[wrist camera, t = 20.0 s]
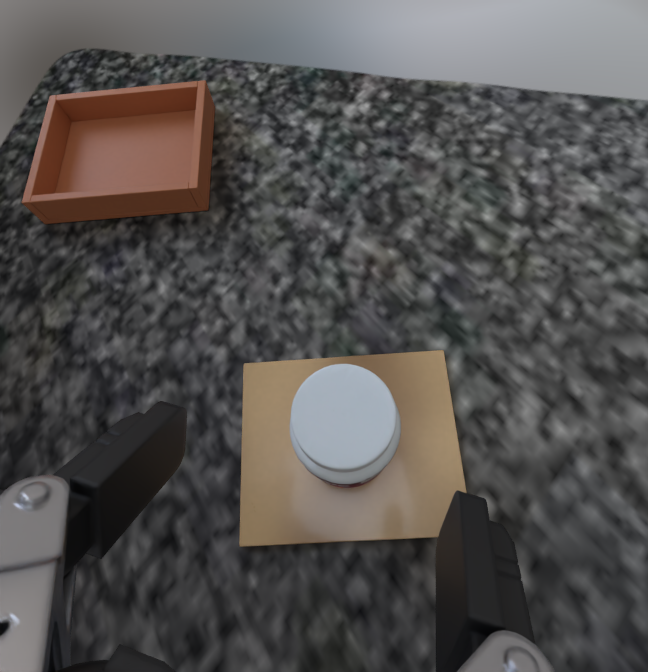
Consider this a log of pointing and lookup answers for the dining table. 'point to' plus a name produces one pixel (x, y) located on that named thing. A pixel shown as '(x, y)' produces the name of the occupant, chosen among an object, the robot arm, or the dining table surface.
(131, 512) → the robot arm
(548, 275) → the dining table surface
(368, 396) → the pill bottle
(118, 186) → the tray
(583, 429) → the dining table surface
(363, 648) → the dining table surface
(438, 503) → the mat
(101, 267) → the dining table surface
